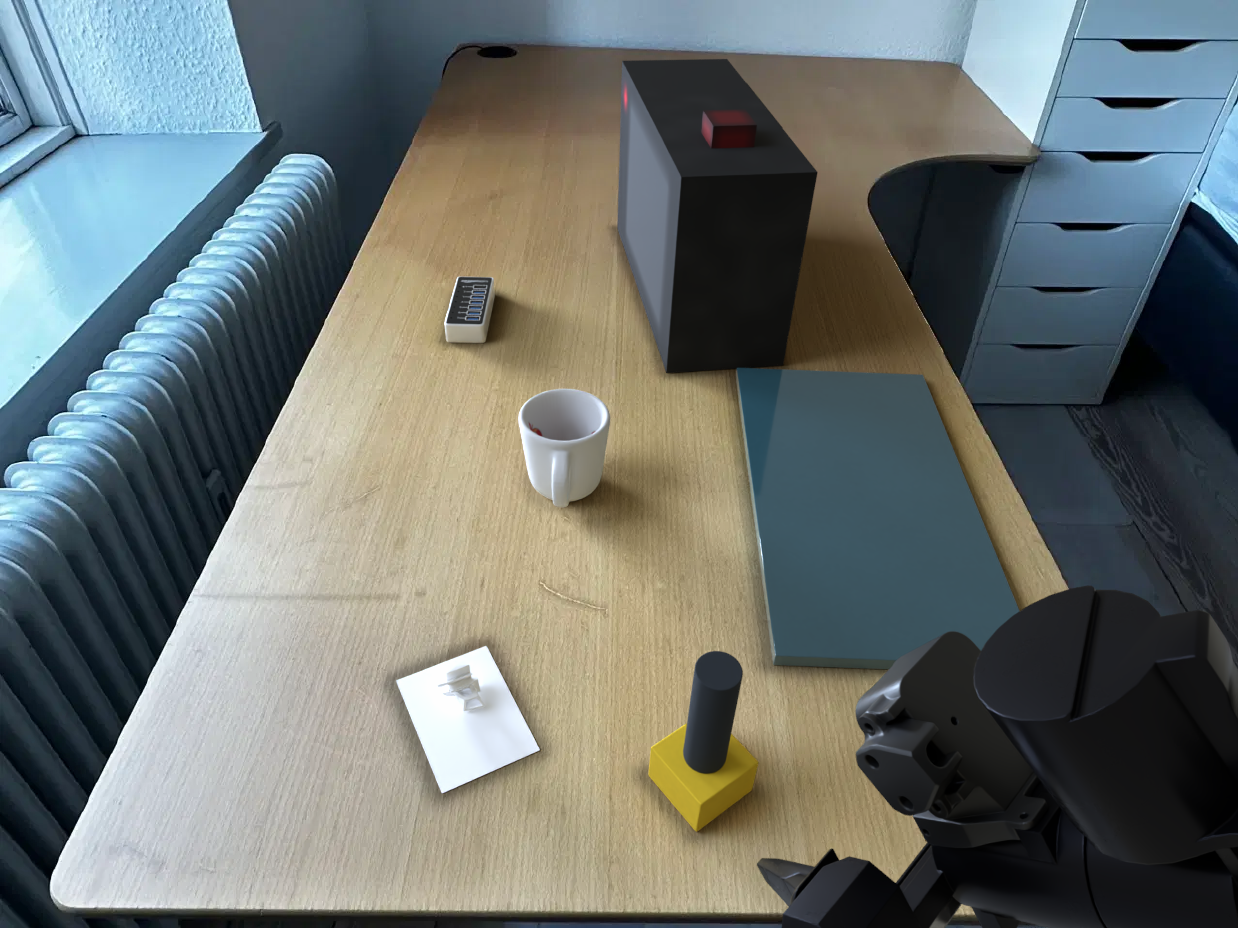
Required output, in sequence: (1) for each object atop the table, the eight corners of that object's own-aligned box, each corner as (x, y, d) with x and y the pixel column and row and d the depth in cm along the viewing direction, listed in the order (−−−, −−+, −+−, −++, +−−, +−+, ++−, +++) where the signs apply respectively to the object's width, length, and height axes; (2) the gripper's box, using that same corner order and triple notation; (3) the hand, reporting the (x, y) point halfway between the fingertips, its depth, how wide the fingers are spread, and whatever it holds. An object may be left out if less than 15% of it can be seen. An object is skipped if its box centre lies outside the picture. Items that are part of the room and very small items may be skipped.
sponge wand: (752, 790, 60) (779, 677, 51) (696, 832, 57) (715, 722, 49) (703, 736, 63) (721, 622, 54) (647, 775, 60) (658, 662, 52)
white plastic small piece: (475, 680, 66) (472, 653, 64) (488, 707, 64) (485, 680, 62) (436, 695, 64) (431, 669, 62) (448, 723, 63) (444, 697, 61)
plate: (1037, 675, 67) (1042, 665, 67) (773, 665, 67) (775, 655, 67) (920, 383, 96) (923, 374, 95) (735, 376, 96) (736, 367, 95)
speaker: (725, 223, 125) (746, 39, 109) (802, 364, 98) (844, 148, 83) (617, 228, 122) (622, 41, 107) (666, 373, 96) (683, 153, 81)
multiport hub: (445, 342, 100) (443, 324, 98) (459, 292, 108) (457, 275, 107) (485, 343, 100) (483, 325, 98) (495, 293, 108) (494, 276, 107)
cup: (606, 536, 77) (608, 467, 72) (514, 533, 77) (510, 464, 72) (609, 456, 85) (611, 388, 80) (526, 453, 85) (522, 386, 80)
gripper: (1139, 533, 36) (853, 570, 49) (883, 847, 26) (608, 789, 39) (1254, 767, 37) (943, 743, 50) (1052, 1160, 27) (728, 1000, 40)
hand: (820, 805), depth 44 cm, fingers open, 9 cm apart
